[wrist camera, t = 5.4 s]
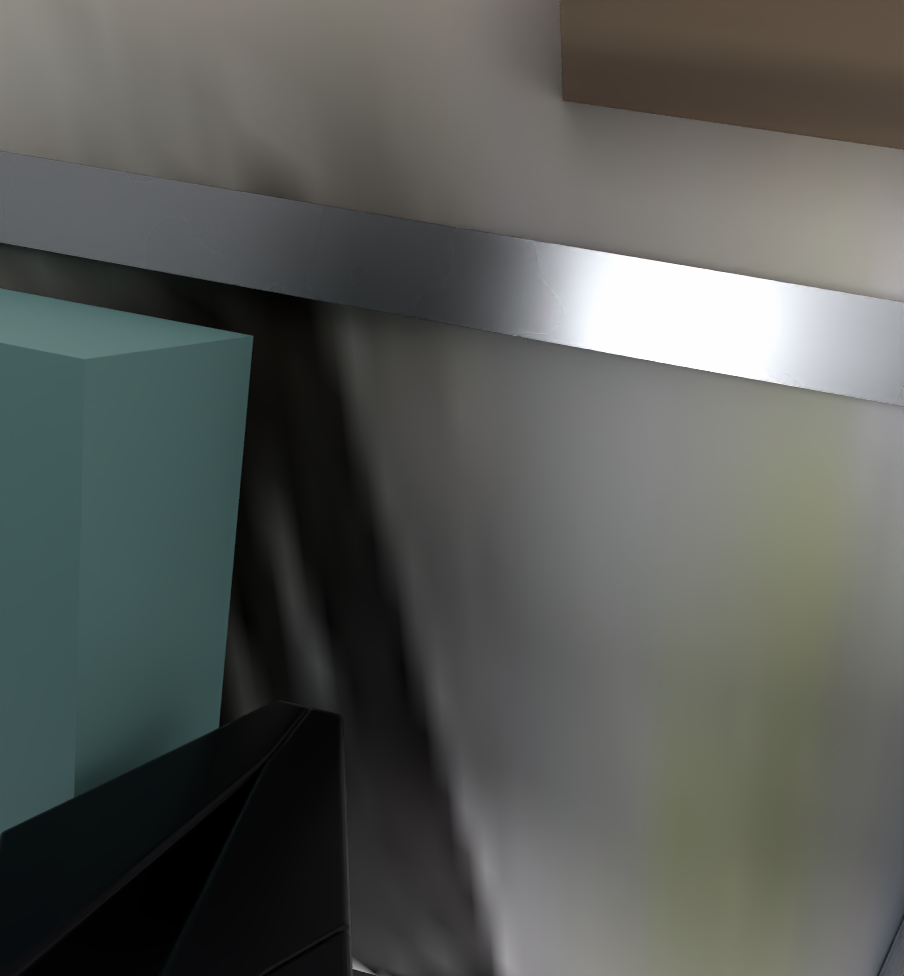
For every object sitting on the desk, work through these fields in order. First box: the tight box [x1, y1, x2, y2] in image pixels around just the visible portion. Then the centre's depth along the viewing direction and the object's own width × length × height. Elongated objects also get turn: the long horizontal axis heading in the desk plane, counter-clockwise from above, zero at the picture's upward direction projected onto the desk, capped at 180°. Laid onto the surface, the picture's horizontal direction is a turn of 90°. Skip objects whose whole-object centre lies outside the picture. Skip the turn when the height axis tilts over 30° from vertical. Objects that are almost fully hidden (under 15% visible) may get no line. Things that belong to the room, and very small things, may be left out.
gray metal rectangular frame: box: [0, 151, 904, 976], centre depth 10 cm, size 12×22×2 cm, turn 81°
